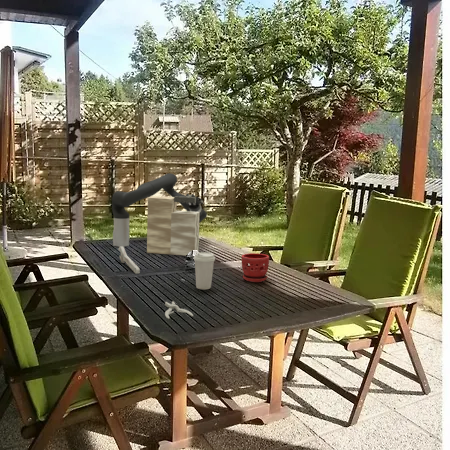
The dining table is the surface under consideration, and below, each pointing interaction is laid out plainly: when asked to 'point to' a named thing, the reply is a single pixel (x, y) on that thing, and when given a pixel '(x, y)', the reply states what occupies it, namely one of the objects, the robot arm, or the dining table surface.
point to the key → (185, 199)
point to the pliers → (173, 306)
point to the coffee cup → (204, 269)
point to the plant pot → (255, 267)
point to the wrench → (128, 260)
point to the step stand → (171, 227)
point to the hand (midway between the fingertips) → (190, 195)
